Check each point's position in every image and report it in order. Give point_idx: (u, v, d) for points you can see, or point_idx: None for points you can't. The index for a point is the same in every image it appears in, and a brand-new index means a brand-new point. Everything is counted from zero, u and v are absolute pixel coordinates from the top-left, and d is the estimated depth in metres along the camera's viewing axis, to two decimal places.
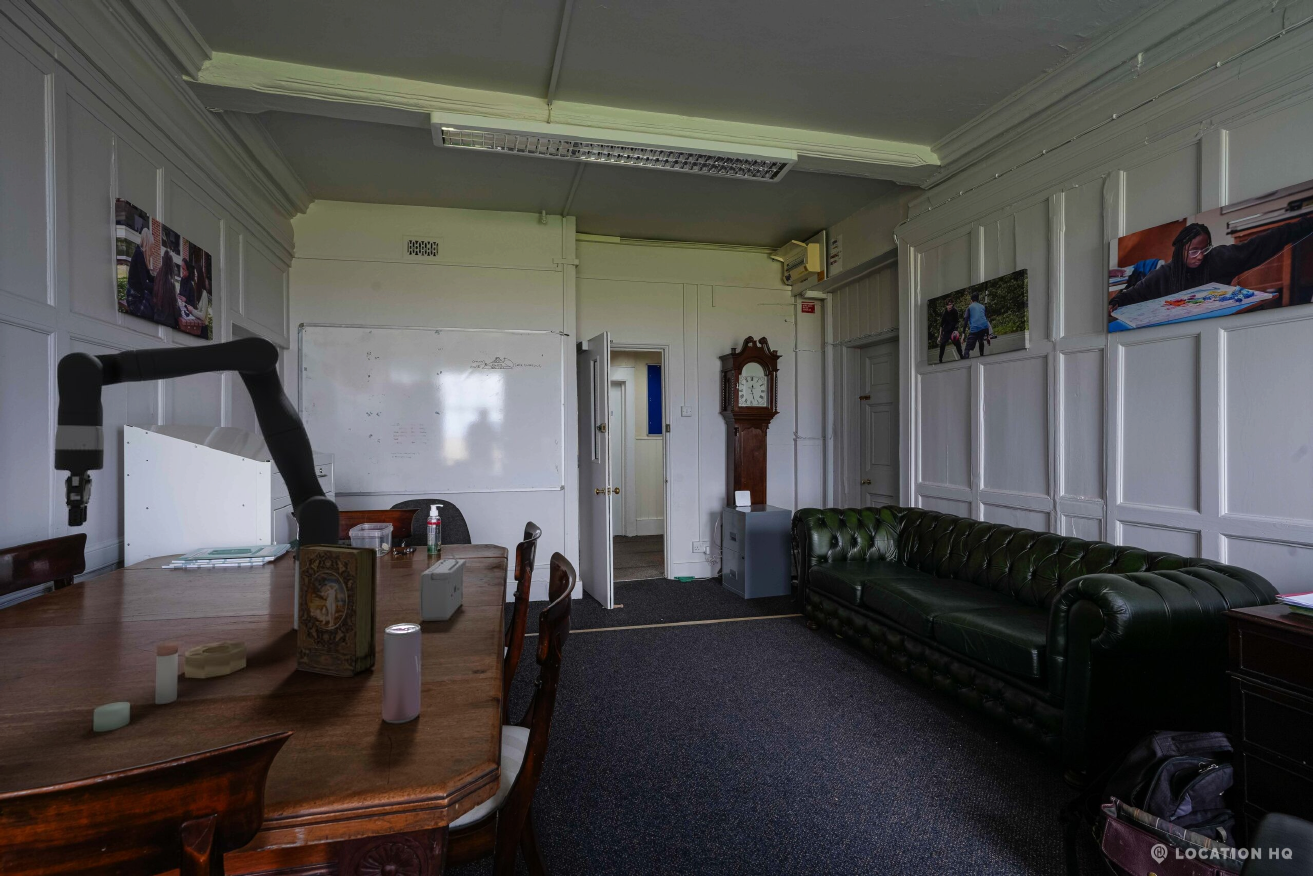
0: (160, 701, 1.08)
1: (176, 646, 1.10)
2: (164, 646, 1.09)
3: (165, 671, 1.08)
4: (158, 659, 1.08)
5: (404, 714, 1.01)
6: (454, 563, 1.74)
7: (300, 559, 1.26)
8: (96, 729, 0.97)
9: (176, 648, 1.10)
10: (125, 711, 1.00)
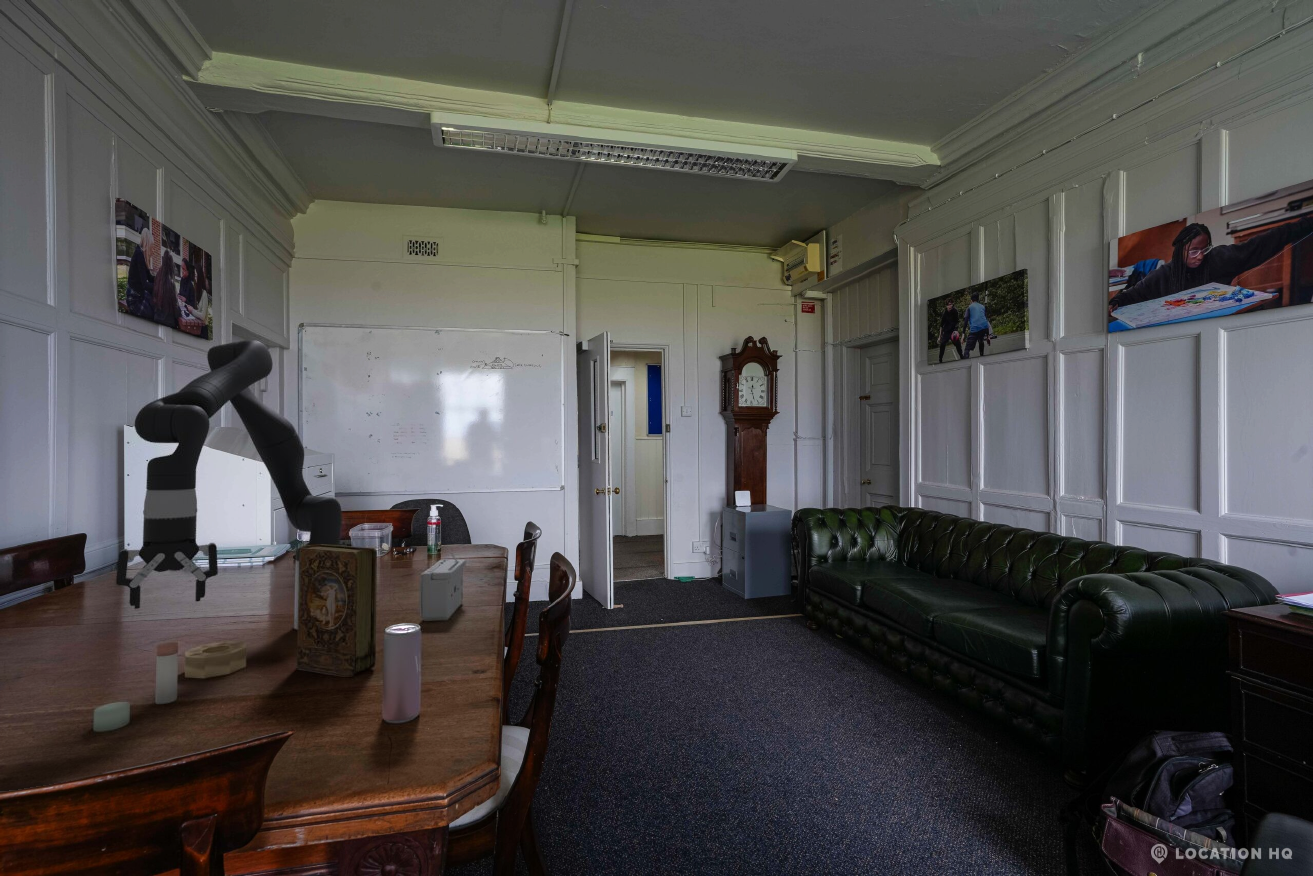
0: (160, 701, 1.08)
1: (176, 646, 1.10)
2: (164, 646, 1.09)
3: (165, 671, 1.08)
4: (158, 659, 1.08)
5: (404, 714, 1.01)
6: (454, 563, 1.74)
7: (300, 559, 1.26)
8: (96, 729, 0.97)
9: (176, 648, 1.10)
10: (125, 711, 1.00)
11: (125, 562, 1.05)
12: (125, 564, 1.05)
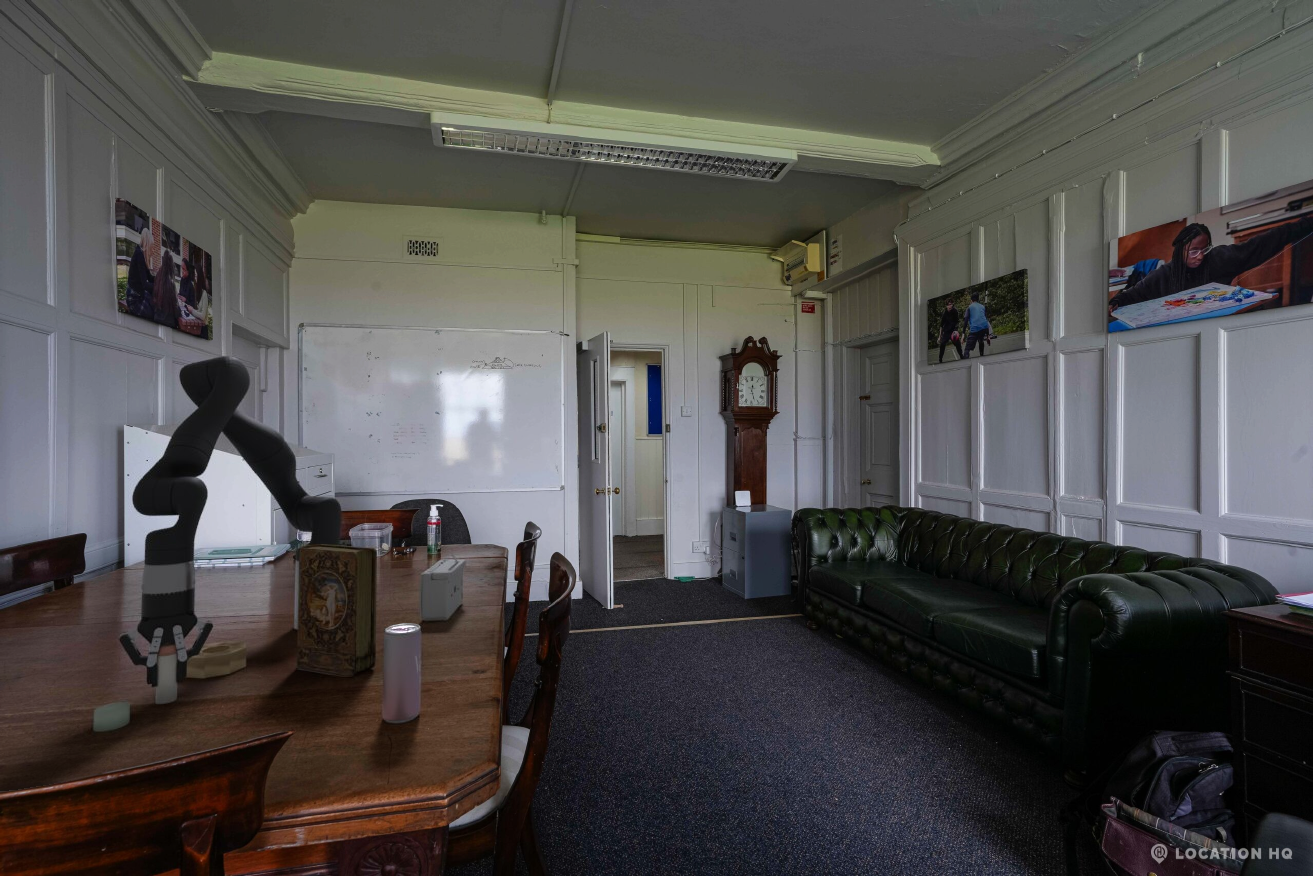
0: (160, 701, 1.08)
1: None
2: (164, 646, 1.09)
3: (165, 671, 1.08)
4: (158, 659, 1.08)
5: (404, 714, 1.01)
6: (454, 563, 1.74)
7: (300, 559, 1.26)
8: (96, 729, 0.97)
9: (176, 648, 1.10)
10: (125, 711, 1.00)
11: (130, 644, 1.05)
12: (131, 646, 1.06)
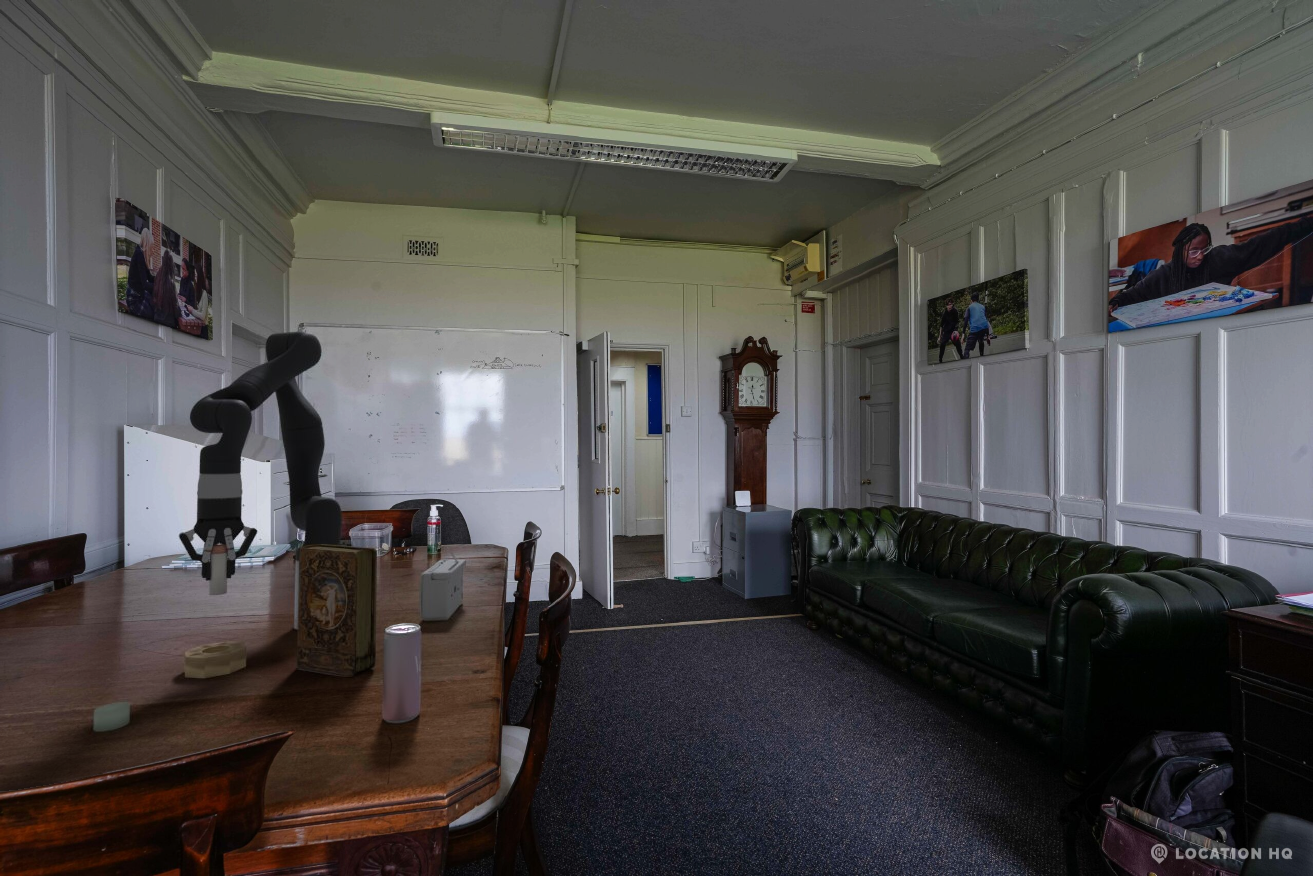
0: (213, 593, 1.24)
1: (226, 546, 1.26)
2: (216, 545, 1.25)
3: (217, 567, 1.25)
4: (211, 556, 1.24)
5: (404, 714, 1.01)
6: (454, 563, 1.74)
7: (300, 559, 1.26)
8: (96, 729, 0.97)
9: (226, 548, 1.26)
10: (125, 711, 1.00)
11: (188, 542, 1.22)
12: (189, 543, 1.22)
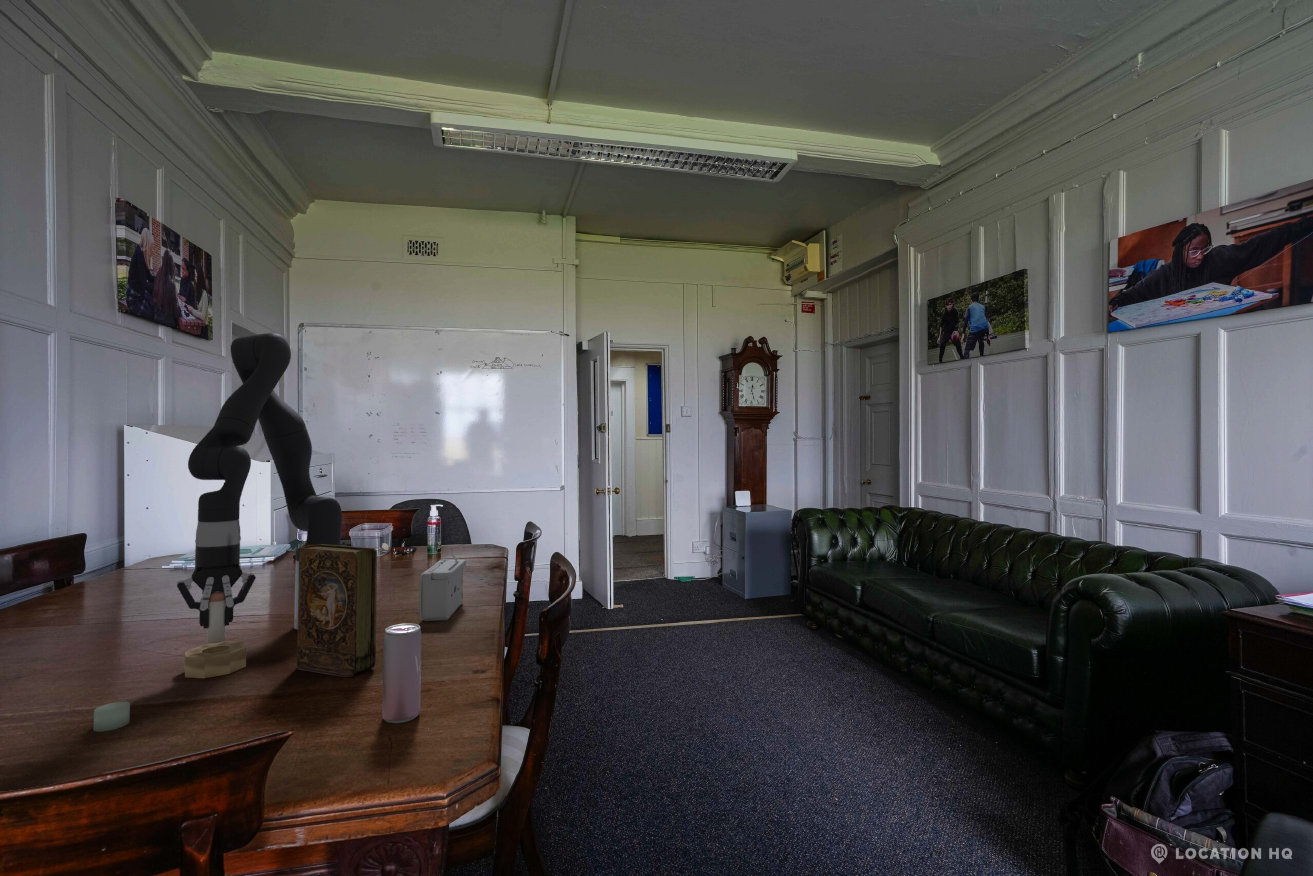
0: (211, 641, 1.24)
1: (224, 594, 1.26)
2: (214, 593, 1.25)
3: (215, 614, 1.24)
4: (209, 604, 1.24)
5: (404, 714, 1.01)
6: (454, 563, 1.74)
7: (300, 559, 1.26)
8: (96, 729, 0.97)
9: (224, 595, 1.26)
10: (125, 711, 1.00)
11: (186, 590, 1.22)
12: (187, 592, 1.22)
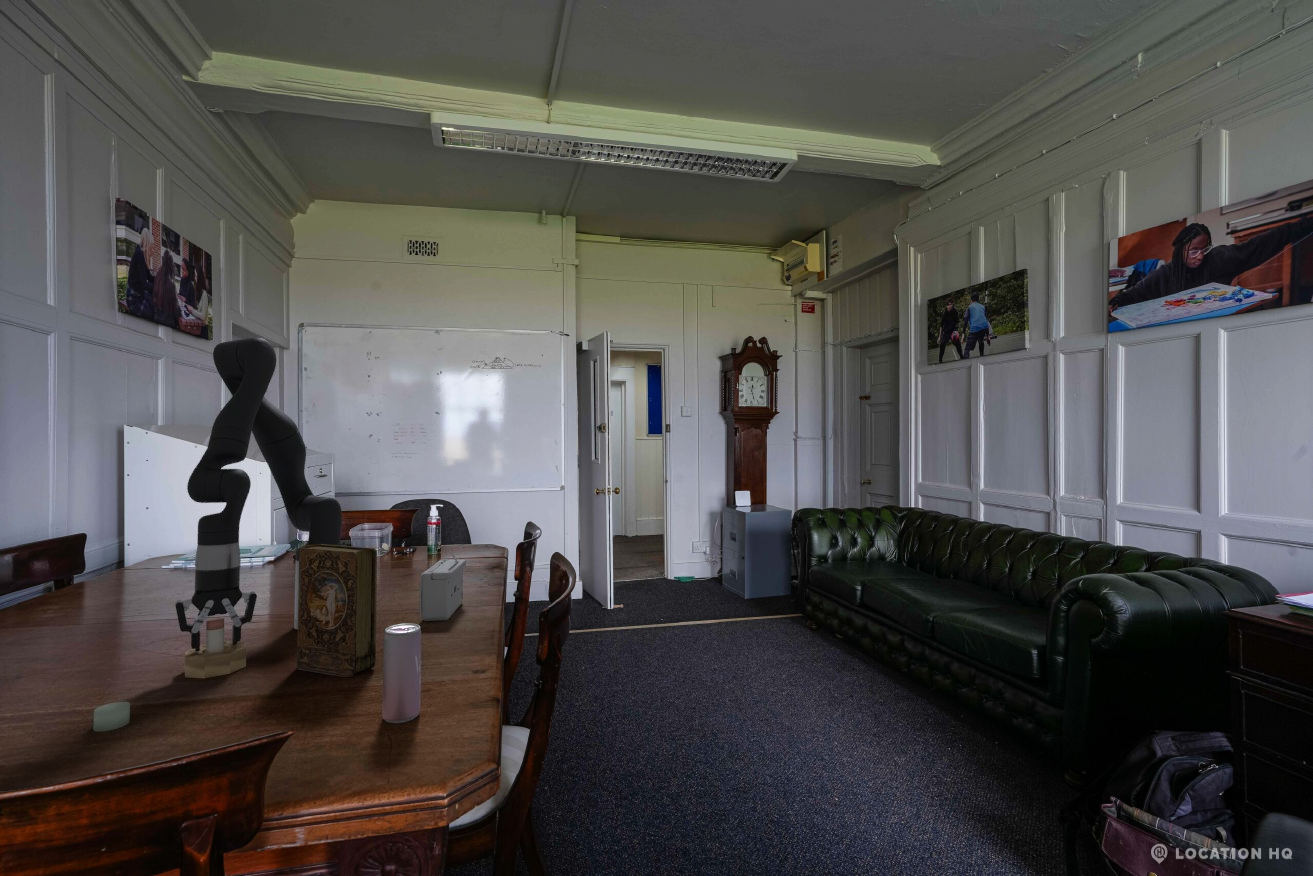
0: None
1: (223, 621, 1.25)
2: (212, 621, 1.24)
3: (214, 643, 1.24)
4: (208, 632, 1.24)
5: (404, 714, 1.01)
6: (454, 563, 1.74)
7: (300, 559, 1.26)
8: (96, 729, 0.97)
9: (223, 623, 1.25)
10: (125, 711, 1.00)
11: (182, 612, 1.21)
12: (183, 613, 1.21)
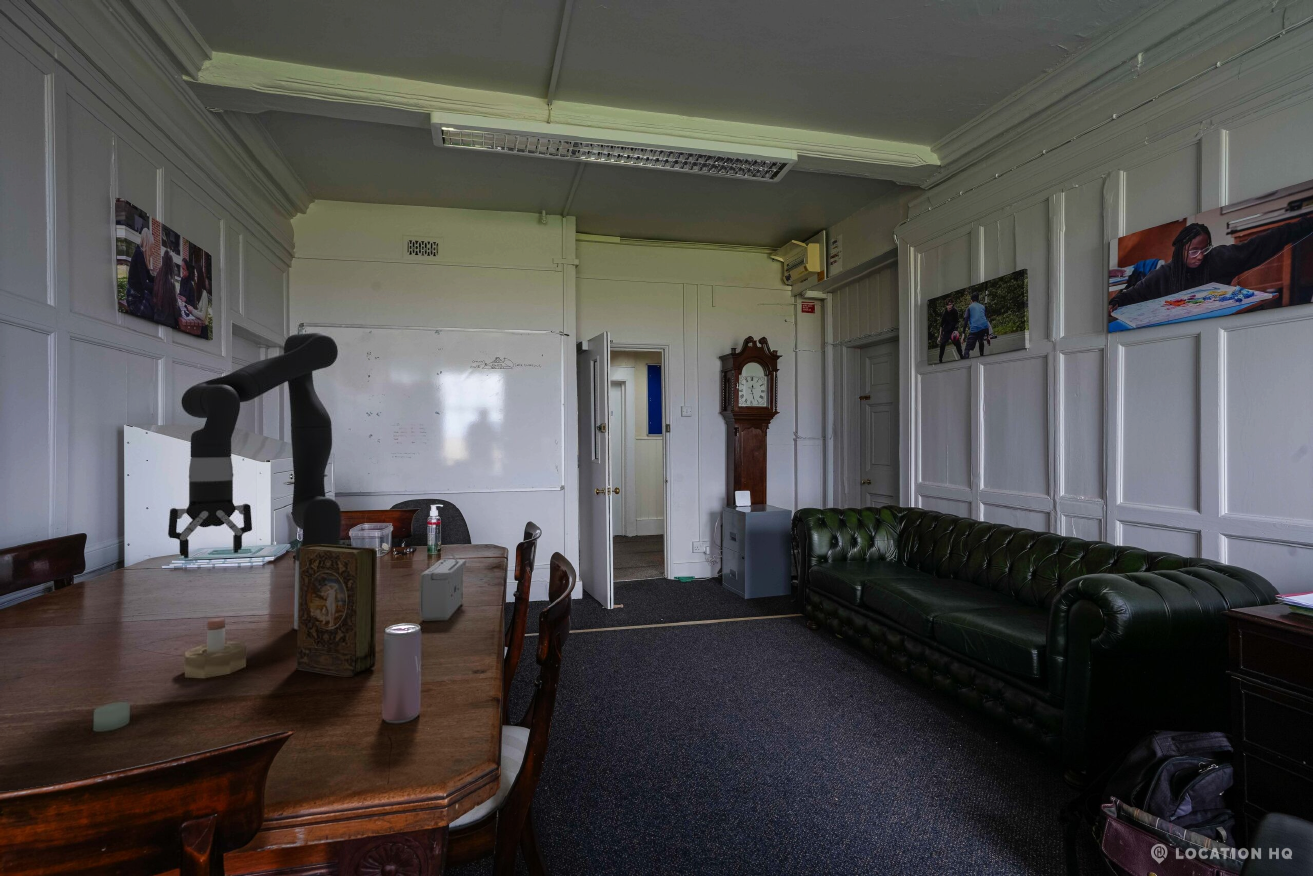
0: None
1: (224, 621, 1.26)
2: (213, 621, 1.25)
3: (215, 642, 1.24)
4: (209, 632, 1.24)
5: (404, 714, 1.01)
6: (454, 563, 1.74)
7: (300, 559, 1.26)
8: (96, 729, 0.97)
9: (224, 623, 1.26)
10: (125, 711, 1.00)
11: (175, 518, 1.24)
12: (175, 520, 1.24)
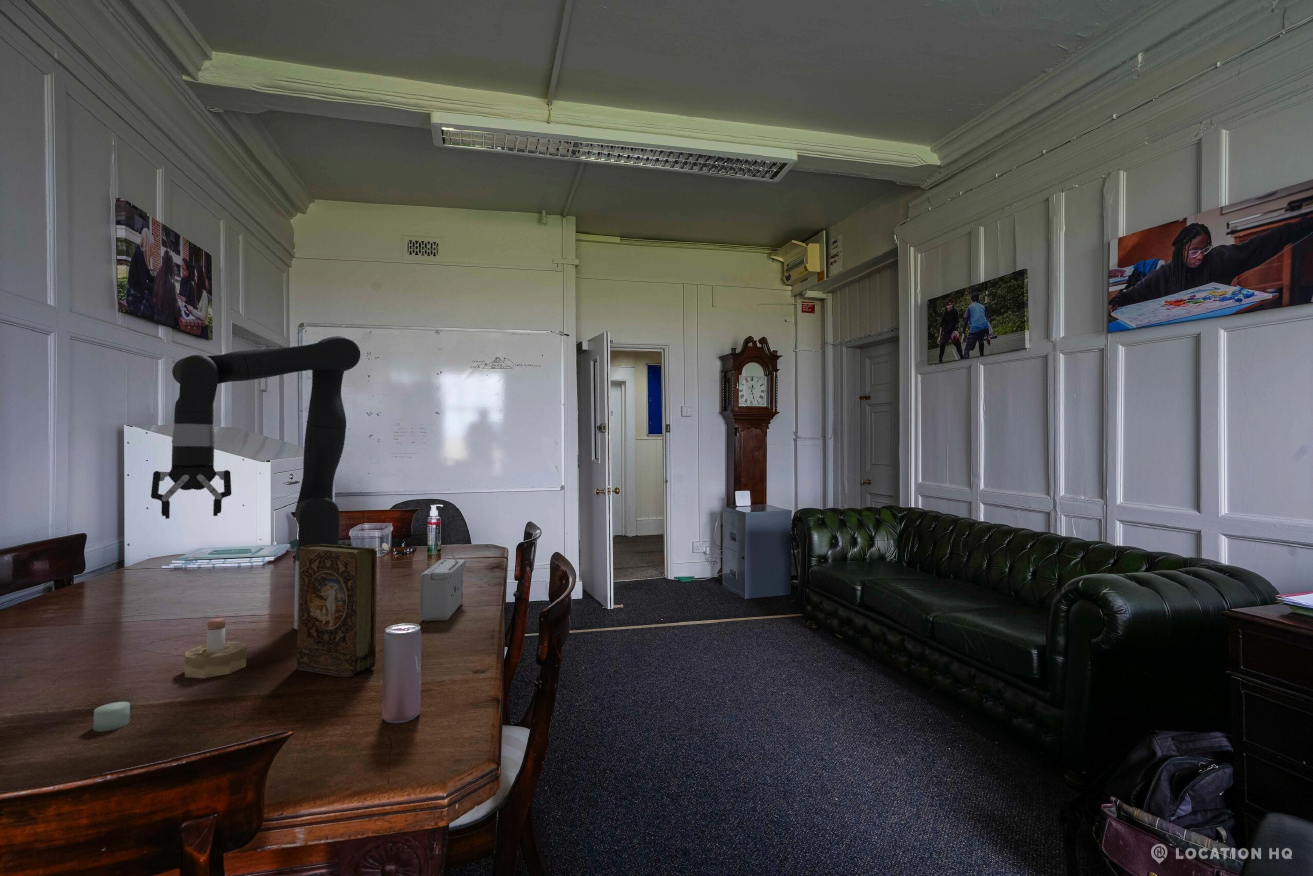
0: None
1: (224, 621, 1.26)
2: (213, 621, 1.25)
3: (215, 642, 1.24)
4: (209, 632, 1.24)
5: (404, 714, 1.01)
6: (454, 563, 1.74)
7: (300, 559, 1.26)
8: (96, 729, 0.97)
9: (224, 623, 1.26)
10: (125, 711, 1.00)
11: (158, 480, 1.31)
12: (158, 482, 1.31)
